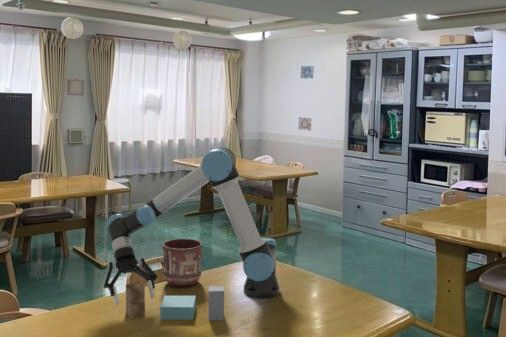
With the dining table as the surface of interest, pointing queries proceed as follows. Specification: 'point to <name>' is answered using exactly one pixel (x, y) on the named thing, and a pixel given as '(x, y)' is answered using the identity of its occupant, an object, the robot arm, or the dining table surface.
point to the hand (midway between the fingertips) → (135, 300)
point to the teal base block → (178, 307)
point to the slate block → (216, 302)
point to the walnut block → (135, 300)
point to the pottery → (182, 262)
